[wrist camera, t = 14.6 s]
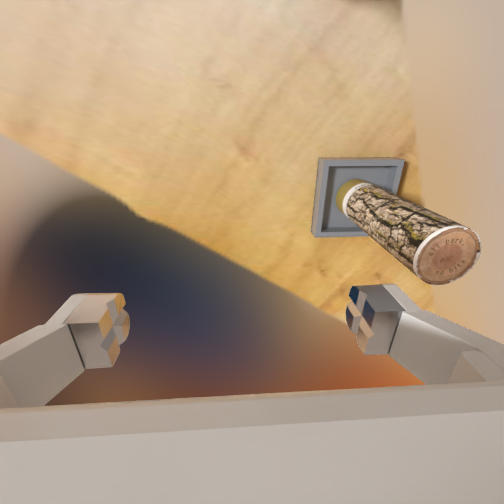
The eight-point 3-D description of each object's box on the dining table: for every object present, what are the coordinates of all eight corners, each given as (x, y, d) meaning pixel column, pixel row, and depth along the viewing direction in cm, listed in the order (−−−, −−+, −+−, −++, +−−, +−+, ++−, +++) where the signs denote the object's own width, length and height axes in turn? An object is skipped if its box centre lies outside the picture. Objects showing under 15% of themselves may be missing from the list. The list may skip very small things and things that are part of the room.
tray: (318, 157, 47) (324, 160, 45) (395, 157, 48) (405, 159, 46) (310, 231, 54) (314, 237, 51) (378, 230, 54) (386, 235, 52)
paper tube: (332, 183, 49) (416, 236, 27) (369, 173, 49) (486, 219, 26) (336, 217, 52) (415, 291, 30) (370, 208, 52) (477, 276, 29)
